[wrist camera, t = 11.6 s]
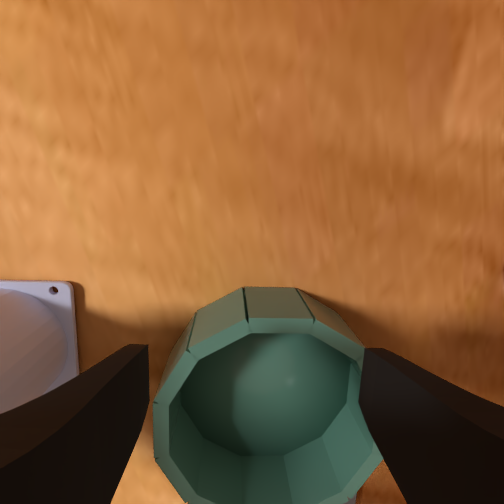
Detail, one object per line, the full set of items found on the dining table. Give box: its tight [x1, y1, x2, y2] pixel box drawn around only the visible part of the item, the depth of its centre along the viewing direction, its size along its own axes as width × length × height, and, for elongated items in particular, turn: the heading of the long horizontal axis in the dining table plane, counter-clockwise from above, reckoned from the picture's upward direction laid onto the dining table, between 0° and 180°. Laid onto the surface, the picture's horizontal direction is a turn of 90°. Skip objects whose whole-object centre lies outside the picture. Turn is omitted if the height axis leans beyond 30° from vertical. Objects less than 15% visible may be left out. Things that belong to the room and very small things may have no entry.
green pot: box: [153, 287, 383, 504], centre depth 20 cm, size 13×13×5 cm
